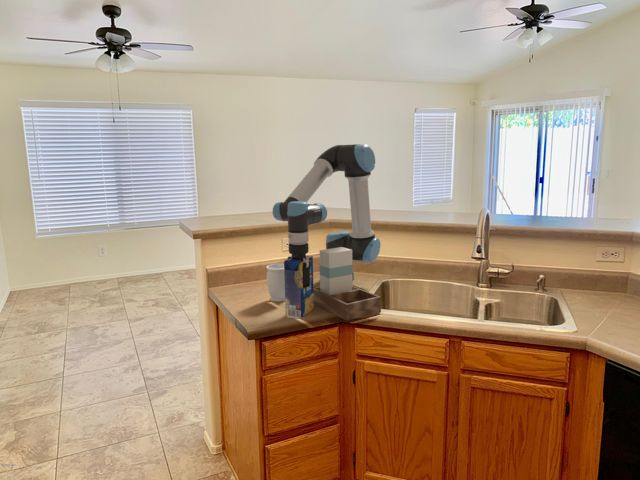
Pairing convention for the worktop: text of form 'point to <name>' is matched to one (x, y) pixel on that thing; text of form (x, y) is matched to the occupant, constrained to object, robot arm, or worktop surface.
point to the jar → (276, 281)
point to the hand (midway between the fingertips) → (299, 301)
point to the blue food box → (297, 288)
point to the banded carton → (336, 270)
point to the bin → (349, 303)
